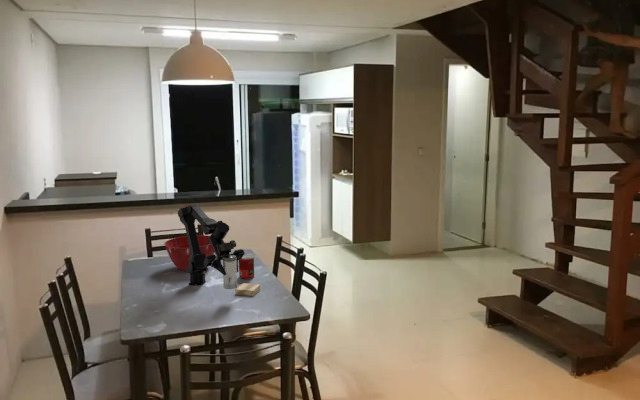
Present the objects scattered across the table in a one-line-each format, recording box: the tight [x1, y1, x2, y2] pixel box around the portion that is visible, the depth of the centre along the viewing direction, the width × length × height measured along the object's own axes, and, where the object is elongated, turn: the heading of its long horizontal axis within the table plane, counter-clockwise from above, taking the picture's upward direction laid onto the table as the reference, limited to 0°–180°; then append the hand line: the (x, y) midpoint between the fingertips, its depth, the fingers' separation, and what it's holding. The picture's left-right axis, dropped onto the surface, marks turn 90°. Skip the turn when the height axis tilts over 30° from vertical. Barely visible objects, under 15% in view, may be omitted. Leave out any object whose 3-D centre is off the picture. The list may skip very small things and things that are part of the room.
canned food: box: [238, 254, 255, 280], centre depth 271 cm, size 8×8×11 cm
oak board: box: [235, 283, 261, 297], centre depth 248 cm, size 9×9×2 cm
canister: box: [222, 255, 238, 290], centre depth 234 cm, size 6×6×14 cm
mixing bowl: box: [164, 234, 215, 272], centre depth 287 cm, size 28×28×15 cm
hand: (231, 273), depth 233 cm, fingers closed on canister, 6 cm apart
